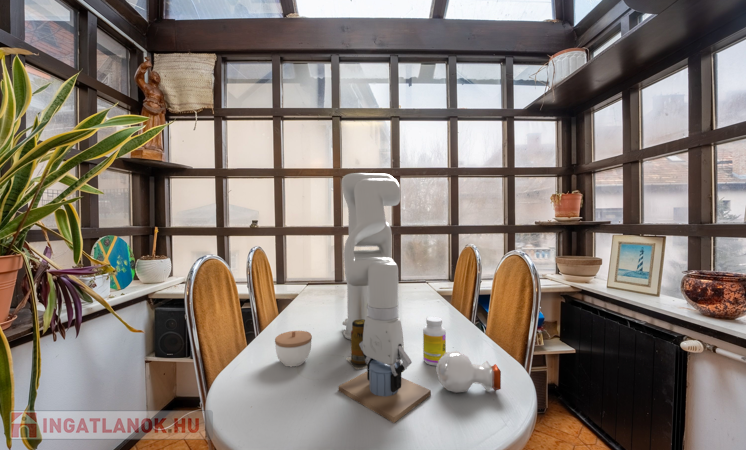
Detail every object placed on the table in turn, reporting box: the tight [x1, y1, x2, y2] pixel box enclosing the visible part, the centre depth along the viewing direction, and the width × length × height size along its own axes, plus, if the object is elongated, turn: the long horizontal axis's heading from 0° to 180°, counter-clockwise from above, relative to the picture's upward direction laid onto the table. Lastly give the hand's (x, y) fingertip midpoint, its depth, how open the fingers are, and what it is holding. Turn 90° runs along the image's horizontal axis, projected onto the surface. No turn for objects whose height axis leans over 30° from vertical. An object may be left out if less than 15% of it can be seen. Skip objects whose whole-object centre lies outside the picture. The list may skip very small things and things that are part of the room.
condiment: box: [345, 319, 368, 371], centre depth 92 cm, size 7×8×12 cm
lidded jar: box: [274, 330, 312, 368], centre depth 92 cm, size 11×11×9 cm
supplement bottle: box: [422, 316, 447, 367], centre depth 92 cm, size 7×7×13 cm
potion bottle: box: [435, 350, 502, 394], centre depth 76 cm, size 9×10×15 cm
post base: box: [337, 371, 432, 423], centre depth 75 cm, size 18×14×6 cm
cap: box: [369, 360, 398, 397], centre depth 75 cm, size 7×7×6 cm
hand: (383, 383), depth 75 cm, fingers closed on cap, 7 cm apart
